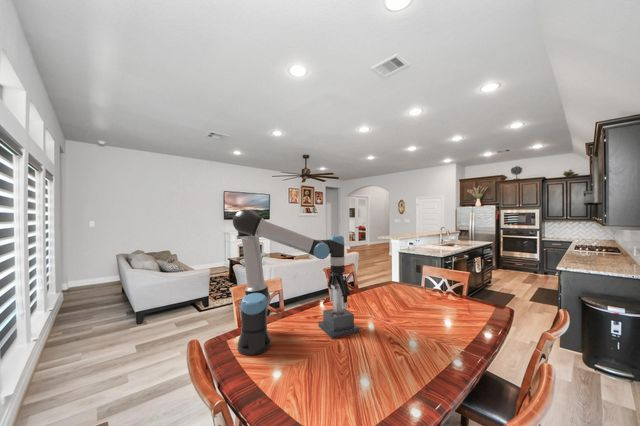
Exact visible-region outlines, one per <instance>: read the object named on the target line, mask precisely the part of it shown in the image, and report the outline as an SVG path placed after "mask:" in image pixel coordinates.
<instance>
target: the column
mask: <svg viewBox="0 0 640 426" xmlns="http://www.w3.org/2000/svg"><path fill="white" fill-rule="evenodd" d="M331 288H332V289H333V301H332V309H333V312H334V314H336V315H338V314H343V309H342V292H341V289H340V286H339V284H338V283H336V284H334V285H331Z"/></svg>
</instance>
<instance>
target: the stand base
mask: <svg viewBox="0 0 640 426" xmlns="http://www.w3.org/2000/svg"><path fill="white" fill-rule="evenodd" d="M322 316H323V319H322V321H318V327H319V329H321V331H323V332H324V333H325V334H326V335H328V337H329V338H330V339H331V340H332V339H337V338H342V337H345V336H350V335H355V334H358V333H360V327H359V326H358V325H356V324H355V314H354V313H353V312H351V311H349V310H347V308H346V309H343V314H338V315H336V314H334V312H333V308H330V309H325V310H322Z"/></svg>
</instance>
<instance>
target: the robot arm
mask: <svg viewBox="0 0 640 426" xmlns="http://www.w3.org/2000/svg"><path fill="white" fill-rule="evenodd" d="M232 225H233V227H234V229H235V230H236V231H237V234H238V235H237V237H238V239H240V240H241V243H242V244H241V245H242V251H243V252H242V253H243V259H244V268H245V276H246V283H247V286H246V287H245V288H244V296H243V297H242V299H241V302H240V319H241V321H240V323H241V325H240V328H241V331H240V332H241V333H240V336H239V339H238V341H237V351H238V353H240V354H242V355H245V356H254V355H260V354H263V353H265V352H266V351H268V350H270V348H271V346H272V340H271V339H272V338H271V337H270V334H269V330H268V309H269V306H270V304H271V295H270V292H269V286H268V284H267V283H265V278H264V269H263V262H262V261H263V260H262V251H261V246H260V245H261V244H260V237H261V238H264V239H267V240H269V241H272V242H276V243H278V244H281V245H283V246H286V247H289V248H292V249H294V250H297V251H298V252H299V251H300V252H302V253H306V254H308V255H310V256H313V257H316V258H317V259H319V260H325V259H327V258H328V257H329V256H330V261H329V262H330V271H329V277H328V278H329V279H328V281H327V282H328V283H327V287H328V289H329V301H330V302H333V289H332V288H331V285H334V284H339V286H340V289H341V292H342V309H346V310H347V309H348V296H350V295H351V293H350V290H349V289H350V288H349V286H348V285H349V284H348V282H347V275H343V273H345V271H346V270H345V268H346V266H345V263H346V262H345V259H346V258H345V245H346V244H345V237H344V236H343V235H336V234H335V235H331V236H330V237H329V239H314V238H312V237H309V236H307V235H304V234H301V233H298V232H296V231H293V230H290V229H288V228H284V226H283V227H282V226H279V225H277V224H274V223H271V222H269V221H266V220H265V219H264V217H261V216H260V214H259V213H258V212H257V211H255V210H253V209H247V208H246V209H245V208H244V209H240V210H238V211H237V212H236V213H235V214H234V216H233V217H232Z"/></svg>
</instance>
